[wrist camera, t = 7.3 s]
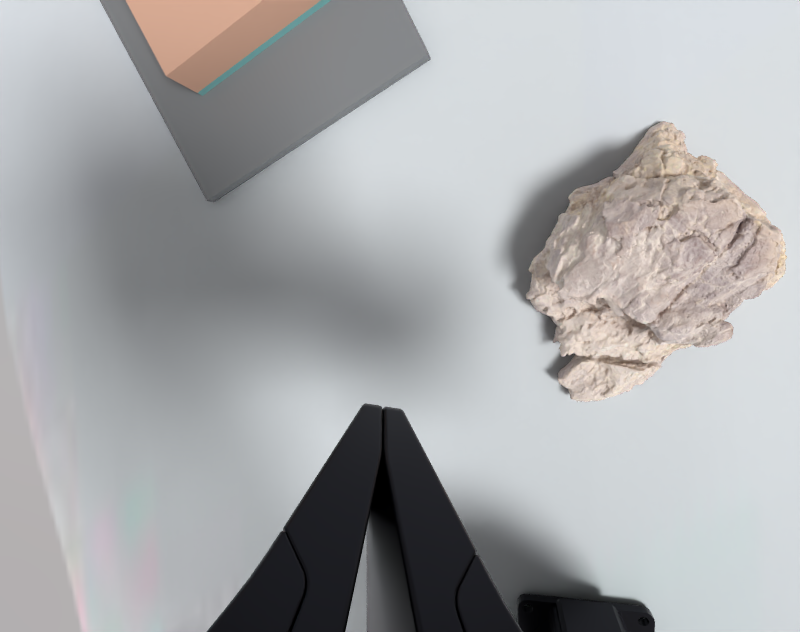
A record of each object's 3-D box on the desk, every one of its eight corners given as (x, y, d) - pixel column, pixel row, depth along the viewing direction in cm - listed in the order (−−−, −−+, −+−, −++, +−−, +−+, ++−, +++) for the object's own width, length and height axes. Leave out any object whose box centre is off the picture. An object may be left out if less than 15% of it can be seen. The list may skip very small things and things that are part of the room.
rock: (658, 123, 18) (735, 68, 13) (786, 261, 18) (920, 266, 13) (472, 288, 21) (470, 303, 15) (584, 410, 21) (622, 468, 15)
